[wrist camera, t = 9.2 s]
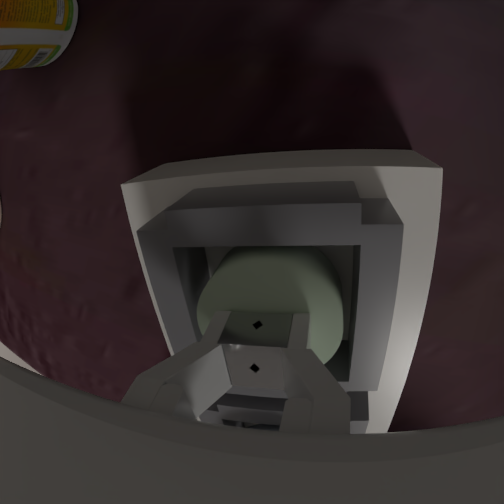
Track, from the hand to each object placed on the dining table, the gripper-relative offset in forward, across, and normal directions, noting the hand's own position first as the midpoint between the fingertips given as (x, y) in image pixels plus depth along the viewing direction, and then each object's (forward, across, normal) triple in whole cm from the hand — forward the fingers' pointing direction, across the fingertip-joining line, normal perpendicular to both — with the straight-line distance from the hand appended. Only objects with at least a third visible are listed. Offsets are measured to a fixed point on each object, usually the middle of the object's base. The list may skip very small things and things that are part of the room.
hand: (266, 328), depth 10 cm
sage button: (+2, 0, 0) cm, 2 cm away
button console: (+7, 0, -9) cm, 11 cm away
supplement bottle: (+7, -13, +15) cm, 21 cm away
